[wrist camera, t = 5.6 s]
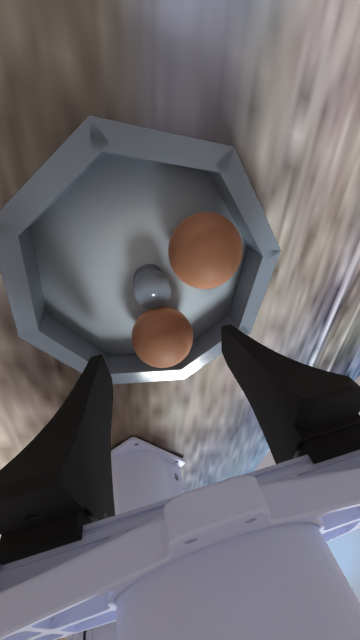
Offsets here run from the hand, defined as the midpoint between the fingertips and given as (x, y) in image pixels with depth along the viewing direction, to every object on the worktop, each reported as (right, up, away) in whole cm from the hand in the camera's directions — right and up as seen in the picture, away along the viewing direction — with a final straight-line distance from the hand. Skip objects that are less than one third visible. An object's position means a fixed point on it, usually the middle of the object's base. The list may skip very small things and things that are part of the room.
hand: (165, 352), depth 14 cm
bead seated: (+2, +5, -2) cm, 6 cm away
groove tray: (-1, +5, +1) cm, 5 cm away
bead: (0, +1, +1) cm, 1 cm away
